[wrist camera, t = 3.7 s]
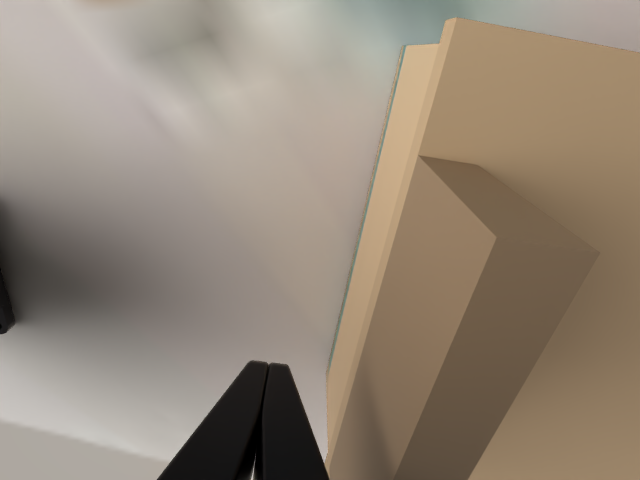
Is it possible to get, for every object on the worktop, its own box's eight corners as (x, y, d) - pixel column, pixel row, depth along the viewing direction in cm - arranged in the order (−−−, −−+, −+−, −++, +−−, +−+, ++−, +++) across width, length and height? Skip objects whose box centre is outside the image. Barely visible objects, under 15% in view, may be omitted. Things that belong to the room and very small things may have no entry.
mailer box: (326, 373, 18) (328, 482, 13) (402, 45, 11) (457, 42, 7) (598, 403, 19) (686, 514, 14) (807, 120, 12) (1087, 160, 8)
